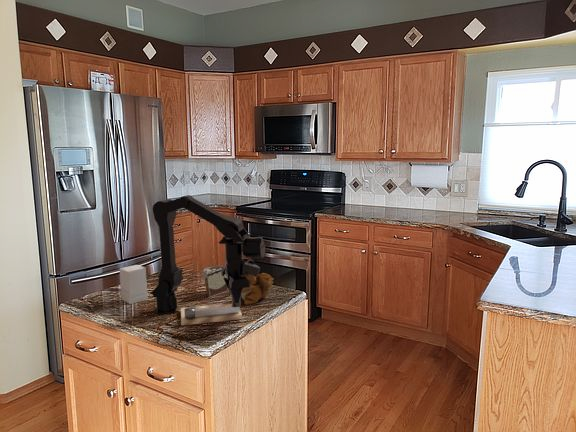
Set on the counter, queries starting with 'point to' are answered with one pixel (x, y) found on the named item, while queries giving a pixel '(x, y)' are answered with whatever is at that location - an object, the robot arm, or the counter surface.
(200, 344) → the counter surface
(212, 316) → the base board
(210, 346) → the counter surface
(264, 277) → the stuffed squirrel
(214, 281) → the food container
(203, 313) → the lever
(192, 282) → the counter surface
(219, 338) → the counter surface
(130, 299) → the supplement box
